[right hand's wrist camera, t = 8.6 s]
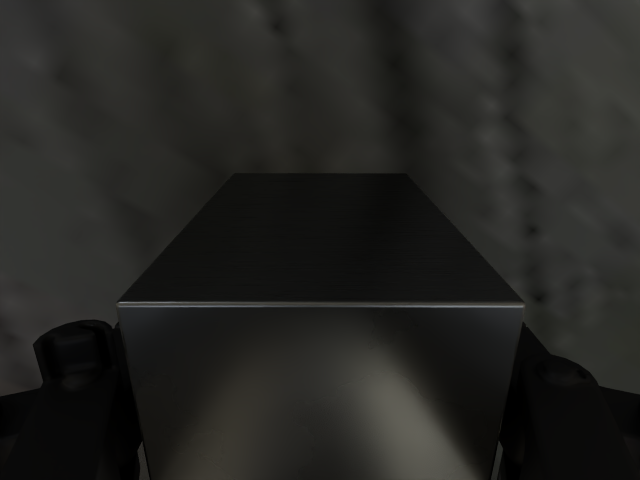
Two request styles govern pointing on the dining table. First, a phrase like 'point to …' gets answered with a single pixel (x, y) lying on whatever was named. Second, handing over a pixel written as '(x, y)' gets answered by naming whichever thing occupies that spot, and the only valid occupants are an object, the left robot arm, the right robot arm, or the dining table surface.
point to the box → (320, 337)
